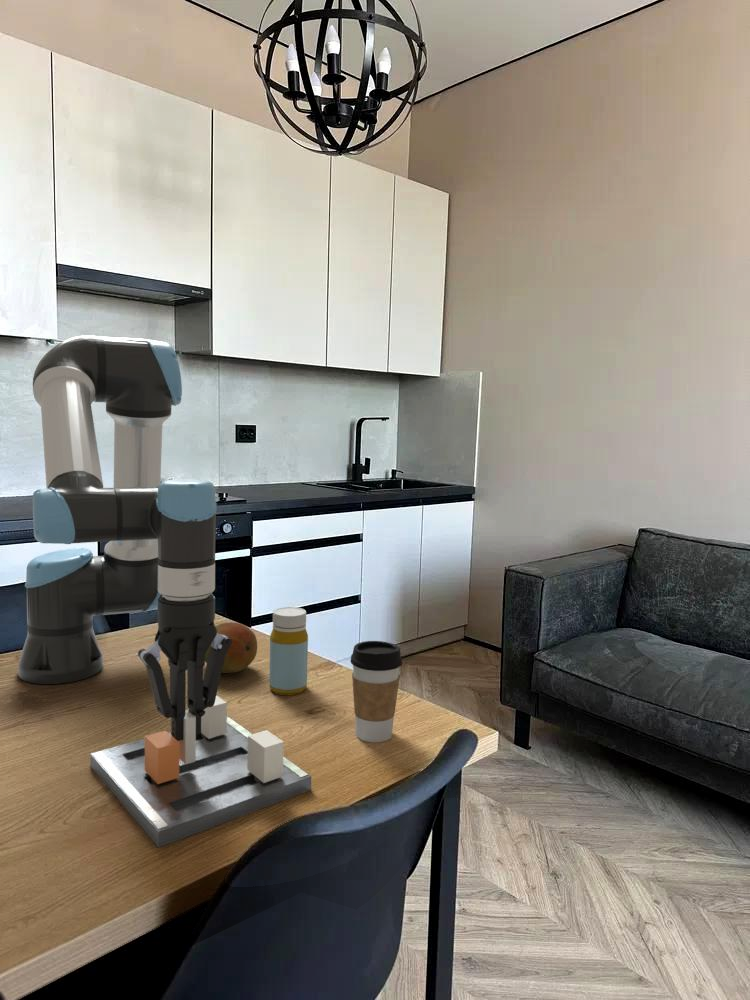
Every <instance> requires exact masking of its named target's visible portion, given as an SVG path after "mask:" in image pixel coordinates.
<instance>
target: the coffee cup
mask: <svg viewBox="0 0 750 1000" xmlns="http://www.w3.org/2000/svg"><path fill="white" fill-rule="evenodd" d="M350 664H352V675H351V676H352V677H351V678H352V679H351V681H352V693H353V707H354V708H353V710H354V723H355V724H354V725H355V727H354V728H355V729H354V730H355V735H356V737H357V738H358V739H359V740H361V741H364V742H367V743H382V742H386V741H388V740H390V739H391V738H392V735H393V729H394V728H393V727H394V720H395V713H396V712H395V711H396V705H397V699H398V692H399V684H400V678H401V677H400V667H401V666H402V664H403V658H402V655H401V647H400V646H399V645H397V644H394V643H392V642H387V641H383V640H382V641H381V640H368V641H367V640H366V641H361V642H358V643H356V644H355V645H354V646H353V650H352V654H351V656H350Z"/></svg>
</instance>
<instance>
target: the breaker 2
mask: <svg viewBox="0 0 750 1000" xmlns="http://www.w3.org/2000/svg"><path fill="white" fill-rule="evenodd" d="M284 743H285V742H284V741H283V740H282V739H280V738H279V737H278V736H276V735H274V734H273V733H271V732H270V731H269V730H267V729H266V730H263V731H259V732H256V733H252V735H248V763H247V770H248V771H249V772H251V773H252V774H253V775H254V780H255V781H256V782H258V783H259V782H263V783H266V782H268V781H271V780H274V779H277V778H280V777H283V756H284Z"/></svg>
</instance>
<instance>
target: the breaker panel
mask: <svg viewBox="0 0 750 1000" xmlns="http://www.w3.org/2000/svg"><path fill="white" fill-rule="evenodd" d="M167 732H168V733H169V734H170V735H171V730H170V731H167ZM252 734H253V732H251V731H249V730H248V729H247V728H245V727H244V726H242V725H241V724H239V723H238V722H237V721H235V720H234V719H233V718H231V717H230V716H228V715H227V734H223V735H220V736H216V737H213V738H210V739H208V738H205V739H204V738H202V737H201V736H202V733H200V735H197V736H196V761H195V762H192V763H189V764H186V765H185V764H184V763H183V762H182V761H181V760H180V759H179V778H176V779H173V780H170V781H166V782H163V783H160V784H157V783H153V782H152V781H151V777H150V776H149V774H148V773H147V772H146V771H145V738H142V739H138V740H134V741H131V742H127V743H122V744H120V745H117V746H113V747H110V748H105V749H102V750H98V751H94V752H91V753H90V754H89V757H90V761H89V762H90V769H92V771H94V773H95V774H96V775H97V776H98V777H99V779H100V780H101V782H103V783H104V784H105V786H106V787H107V788H108V789H109V790H110V792H111V793H112V794H113V795H114V797H115V798H116V799H117V800H118V802H120V804H121V805H122V806H123V807H124V809H125V810H126V811H127V812H128V813H129V815H130V816H131V817H132V818H133V819H134V821H136V823H137V824H138V825H139V826H140V828H141V829H142V830H143V832H145V833H146V835H147V836H148V837H149V838H150V839H151V841H152V842H153V843H154V844H155V845H156V847H158V848H162V847H165V846H167V845H169V844H170V845H171V844H173V843H175V842H178V841H180V840H183V839H185V838H189V837H191V836H193V835H196V834H199V833H201V832H204V831H207V830H209V829H211V828H214V827H217V826H219V825H222V824H225V823H227V822H230V821H233V820H235V819H238V818H241V817H242V816H246V815H249V814H250V813H254V812H256V811H258V810H261V809H264V808H267V807H269V806H272V805H275V804H277V803H280V802H282V801H285V800H287V799H290V798H294V797H295V796H298V795H301V794H303V793H307V792H309V791H311V790H312V775H310V774H309V773H308V772H306V771H305V770H304V769H303V768H301V767H300V766H298V765H297V764H295V763H294V762H292V761H291V760H290V759H288V758H287V757H285V756H284V755H283V777H280V778H277V779H274V780H271V781H268V782H266V783H263V782H259V783H258V782H256V781H255V780H254V775H253V774H252V773H251V772H249V771H248V770H247V763H248V735H252Z"/></svg>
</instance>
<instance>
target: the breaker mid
mask: <svg viewBox="0 0 750 1000" xmlns="http://www.w3.org/2000/svg"><path fill="white" fill-rule="evenodd" d="M168 732H169V731H167V730H163V731H159V732H158V731H157V732H154V733H151V734H148V735H144V739H145V771H146V772H147V773H148V774H149V776H150V777H151V781H152V782H153V783H157V784H160V783H163V782H166V781H170V780H173V779H176V778H179V742H178V741H177V740H176V739H175V738H174V737H173V736H172V735H170V734H169V733H168Z"/></svg>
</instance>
